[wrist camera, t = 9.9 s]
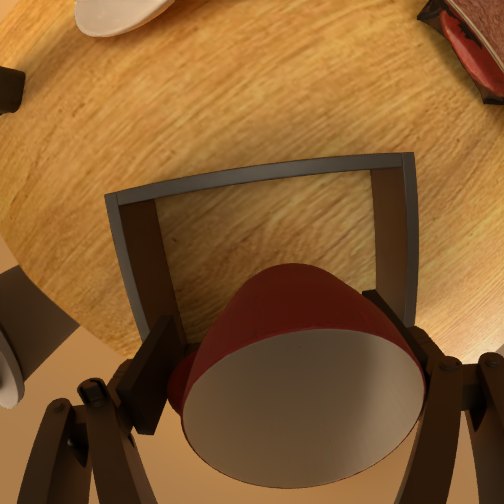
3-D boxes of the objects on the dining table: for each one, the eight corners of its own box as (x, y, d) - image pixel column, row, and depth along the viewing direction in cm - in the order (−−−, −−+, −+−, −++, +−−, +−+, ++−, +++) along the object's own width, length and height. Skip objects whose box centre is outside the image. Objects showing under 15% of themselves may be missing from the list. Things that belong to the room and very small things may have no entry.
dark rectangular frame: (181, 352, 30) (162, 395, 23) (141, 186, 26) (103, 194, 19) (383, 328, 28) (408, 368, 22) (378, 154, 24) (414, 151, 17)
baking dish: (474, 134, 24) (544, 143, 15) (381, -11, 18) (439, -51, 9) (519, 84, 22) (575, 85, 13) (446, -35, 16) (497, -59, 7)
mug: (234, 388, 20) (218, 512, 10) (161, 299, 18) (85, 411, 8) (373, 317, 18) (443, 430, 8) (313, 206, 16) (380, 263, 7)
